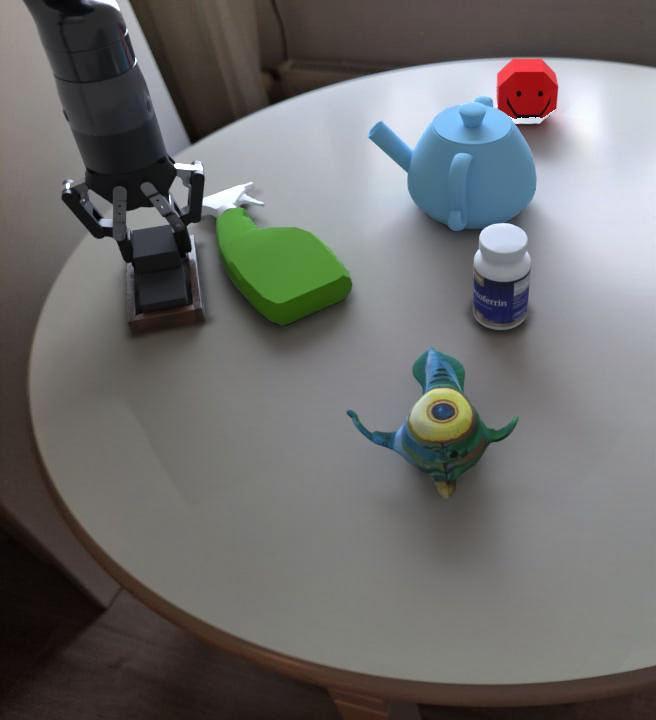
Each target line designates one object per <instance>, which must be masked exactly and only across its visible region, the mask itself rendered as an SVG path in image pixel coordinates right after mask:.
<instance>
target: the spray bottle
mask: <svg viewBox="0 0 656 720" xmlns="http://www.w3.org/2000/svg"><path fill="white" fill-rule="evenodd" d="M255 190H256V188H255V184H254V183H253V182H252V181H250V182H247V183H244V184H238V185H235V186H233V187H230V188H228V189H225V190H222V191H219V192H217V193H214V194H211V195H208V196H205V197H203V203H202V213H201V215H210V216H213V217H214V218H216V220H215V235H216V245H217V248H218V253H219V260H220V262H221V263H222V266H223V267H224V269H225V272H227V275H228V276H229V278H230V279H231V281H232V283H233V284H234V286H235V287H236V288H237V290H239V291H238V292H240V293H241V294H242V295H243V296H244V297H245V298H246V299H247V301H249V303H250V304H251V305H252V306H253V308H254V309H256V310H257V312H259V314H261V315H262V316H264V317H265V318H266V319H267V320H269V321H270V322H271V323H274V324H277V325H280V326H287V325H289V324H291V323H294V322H296V321H298V320H300V319H303V318H305V317H308V316H310V315H312V314H314V313H316V312H319V311H321V310H323V309H326V308H328V307H330V306H332V305H335V304H338V303H340V302H342V301H343V300H344V299H345V298H346V297H347V296H348V295H349V294H350V293H351V291H352V288H353V281H352V278H351V275H350V272H349V270H348V269H347V267H345V265H344V264H343V262H341V260H340V259H339V257H337V255H336V253H334V251H333V249H331V247H330V246H328V245H327V244H326V243H325V242H324V241H323V240H322V239H321V238H320V237H318V235H316V234H315V233H313V232H311V231H309V230H305V229H302V228H299V227H296V226H282V227H281V226H275V227H274V226H273V227H265V228H259V227H258V226H256V224H255V223H254V221H253V220H252V219H251V218H250V217H249V211H248V210H247V209H246V208H244V207H241V206H242V205H250V206H257V207H266V203H265V202H263V201H260V200H257V199H255V198H253V197H251V196H249V195H247V194H248V193H251V192H253V191H255Z"/></svg>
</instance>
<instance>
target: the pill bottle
mask: <svg viewBox="0 0 656 720" xmlns="http://www.w3.org/2000/svg"><path fill="white" fill-rule="evenodd" d="M528 241H529V240H528V235H527V233H526V232H525V230H524V229H522V228H521V227H519V226H517V225H515V224H511V223H506V222H504V223H499V224H493V225H490V226H488V227H486V228H482V231H481V232H480V234H479V236H478V250H476V253H475V254H474V258H473V265H472V266H473V267H472V269H473V272H472V273H473V275H472V276H473V277H472V278H473V279H472V314H473V317H474V319H475V320H476V322H478V323H479V324H480V325H482V326H483V327H485V328H486V329H491V330H495V331H508V330H512V329H514V328H517V327H518V326H520V325H521V324H523V322H524V321H525V320H526V317H527V314H528V307H529V296H530V284H531V273H532V272H531V271H532V259H531V256H530V254H529V253H528V243H529V242H528Z"/></svg>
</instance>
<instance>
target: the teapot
mask: <svg viewBox="0 0 656 720" xmlns="http://www.w3.org/2000/svg"><path fill="white" fill-rule="evenodd" d="M366 136H367V138H368V139H369V140H371V142H373V143H374V145H376V146H377V147H378V148H379V149H380V150H381V151H382V152H383V153H385V154H386V155H387V156H388V157H389V158H390V159H391V160H392V161H393V162H394V163H396V164H397V165H398V166H399V167H400V168H401V169H402V170H403V171H404V172H406V173H407V179H406V180H407V181H406V182H407V184H406V186H407V191H408V193H409V196H410V198H411V199H412V201H413V203H414V204H415V205H416V206H417V207H419V209H420V210H421V211H423V212H424V213H425V214H426V215H427V216H429V217H430V218H432V219H433V220H435V221H437V222H439V223H441V224H443V225H446V226H447V227H448V228H449V229H450V230H452V231H454V232H460V231H463V230H464V229H469V230H470V229H474V230H476V229H477V230H478V229H485V228H486V227H488V226H490V225H493V224H499V223H506V222H508V221H510V220H511V219H513V218H514V217H516V216H517V215H519V214H520V213H521V212H522V211H523V210H524V209H525V208H527V207H528V205H529V204H530V203H531V201H532V200H533V198H534V196H535V194H536V190H537V181H538V180H537V178H538V177H537V169H536V163H535V160H534V156H533V154H532V151H531V149H530V146H529V144H528V142H527V141H526V138H525V137H524V135H523V134H522V132H521V131H520V129H519V128H518V126H517V125H515V123H514V122H513V121H512V119H511V118H510V117H509V116H508V115H507V114H505V113H504V112H502V111H501V110H499V109H498V108H496V107H494V100H493V98H491V97H490V96H489V95H483V94H481V95H477V96H476V97H475V98H474V100H473V101H468V102H465V103H462V104H458V105H454V106H450V107H448V108H445V109H444V110H442V111H440V112H438V113H437V114H436V115H435V116H434V117H433V119H432V120H431V121H430V122H429V123H428V125H427V126H426V127H425V130H424V131H423V132H422V134H421V136H420V137H419V139H418V141H417V142H416V144H415V145H414V148H413V149H412V148H411V147H410V146H409V145H408V144H407V143H406V142H405V141H404V140H403V139H402V138H401V137H400V136H398V134H396V133H395V131H393V130H392V129H391V128H390V126H388V125H387V124H386V123H385V122H384V121H383V120H380V121H378V122H376V124H374V125H373V126H372V127H371V129H370V130H369V131H368V133H367V135H366Z"/></svg>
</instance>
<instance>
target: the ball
mask: <svg viewBox="0 0 656 720" xmlns="http://www.w3.org/2000/svg"><path fill="white" fill-rule="evenodd" d="M557 78H558V77H557V74H556V72H555V71H554V70H553V68H551V66H549V65H548V64H547V63H546V62H545V61H544V60H543V58H512V59H511V60H510V61H509V62H508V63H507V64H506V65H504V67H503V68H501V70H499V71H498V72H497V74H496V105H498V107H497V109H499V110H501V111H502V112H504V113H505V114H507V115H508V116H510V117H512V118H514V119H517V118H521V117H522V118H529V117H535V118H536V117H540V118H543V117H545V116H546V115H548V114H549V113H550V112H552V111H553V110H555V109H556V110H557V108H558V107H557V106H558V98H559V97H558V95H559V94H558V93H559V81H558V79H557Z"/></svg>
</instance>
